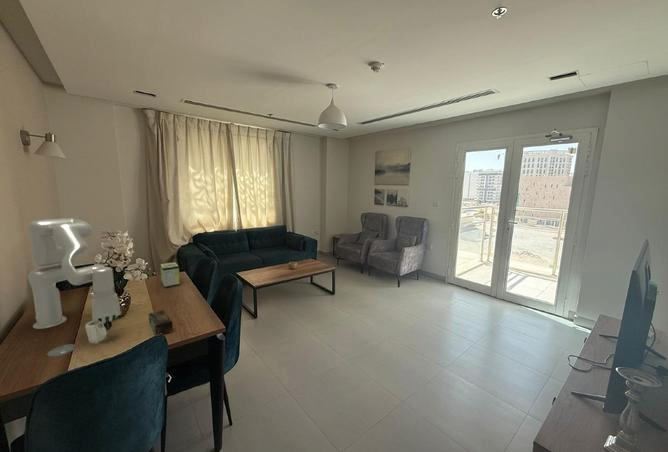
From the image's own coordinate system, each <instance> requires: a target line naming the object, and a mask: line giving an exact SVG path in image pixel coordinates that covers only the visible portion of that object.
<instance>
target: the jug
mask: <svg viewBox="0 0 668 452" xmlns="http://www.w3.org/2000/svg"><path fill="white" fill-rule="evenodd" d="M84 328H85V332H86V334H87V337H88V338H87V339H88V340H89V342H90V343H97V342H99V341H102V340H104V339H105V338H106V335H108V333H107V330H106V328H105V327H104V323H103V322H101V321H99V320H98V321H92V320H91V321H89V322H87V323H86V324H85V325H84Z"/></svg>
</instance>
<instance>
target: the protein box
mask: <svg viewBox="0 0 668 452" xmlns="http://www.w3.org/2000/svg"><path fill="white" fill-rule="evenodd" d="M159 266H160V268H159V269H160V279H161V280H160V281H161V285H162V286H163V289H169V288H173V287H179V285H180V266H179V265H178V263H176V261H173V262H166V263H160V265H159ZM180 286H181V285H180Z"/></svg>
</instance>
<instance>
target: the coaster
mask: <svg viewBox="0 0 668 452" xmlns="http://www.w3.org/2000/svg"><path fill="white" fill-rule="evenodd" d="M75 349H76V344H72V343H71V344H70V343H69V344H64V345H60V346H57V347H54V348H52V349H51V350H49V351H48V352H47V356H48V357H53V358H54V357H59V356H63V355H66V354H69V353H71V352H72V351H74V350H75Z"/></svg>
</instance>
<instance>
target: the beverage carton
mask: <svg viewBox="0 0 668 452" xmlns="http://www.w3.org/2000/svg"><path fill="white" fill-rule="evenodd" d="M148 320H149V324H150V327H151V329H152V332H153V334H154V336H155V335H158V334H160V333H163V335H166V334H170V333H173V321H172V319H171V317H170V316H169V315H168V313H167V312H166V310H164V309H162V310H159V311H152V312H149V313H148Z"/></svg>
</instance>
